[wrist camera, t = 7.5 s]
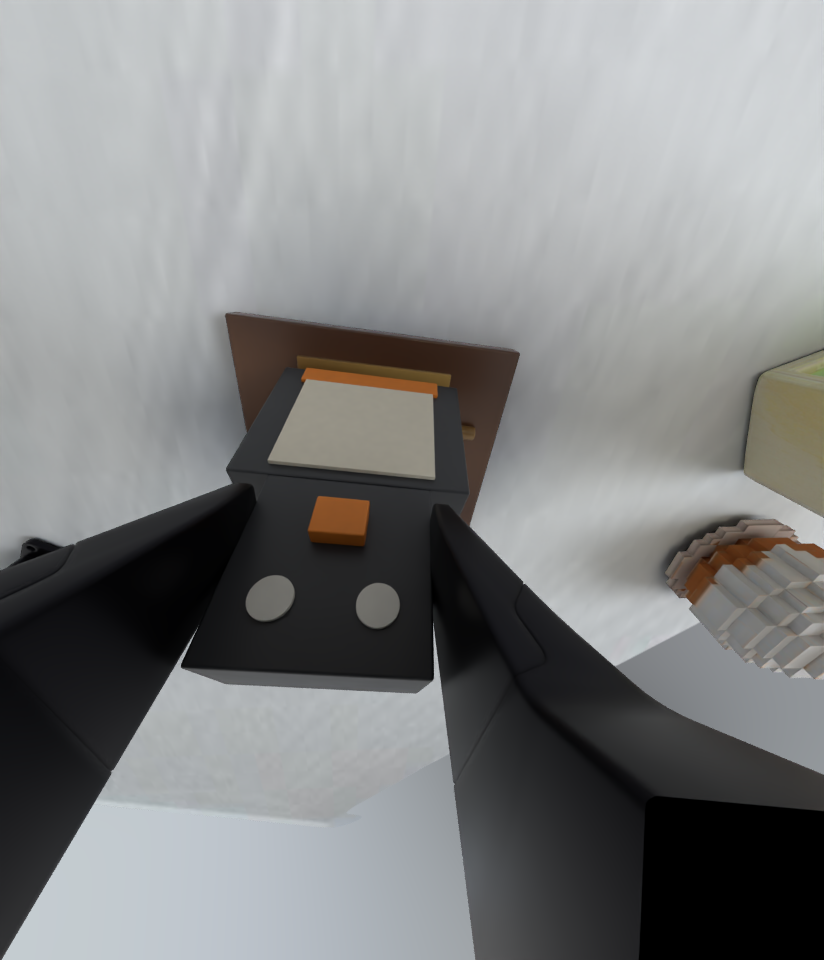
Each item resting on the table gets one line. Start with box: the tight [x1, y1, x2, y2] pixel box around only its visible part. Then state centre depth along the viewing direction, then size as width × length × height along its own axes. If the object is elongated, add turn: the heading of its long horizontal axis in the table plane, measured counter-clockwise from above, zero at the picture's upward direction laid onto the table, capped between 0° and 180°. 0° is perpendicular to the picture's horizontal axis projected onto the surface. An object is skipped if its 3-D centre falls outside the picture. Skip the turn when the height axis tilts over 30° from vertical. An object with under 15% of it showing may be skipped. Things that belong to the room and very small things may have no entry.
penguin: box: [181, 367, 470, 693], centre depth 10 cm, size 11×8×3 cm
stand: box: [225, 312, 520, 525], centre depth 18 cm, size 16×13×2 cm
